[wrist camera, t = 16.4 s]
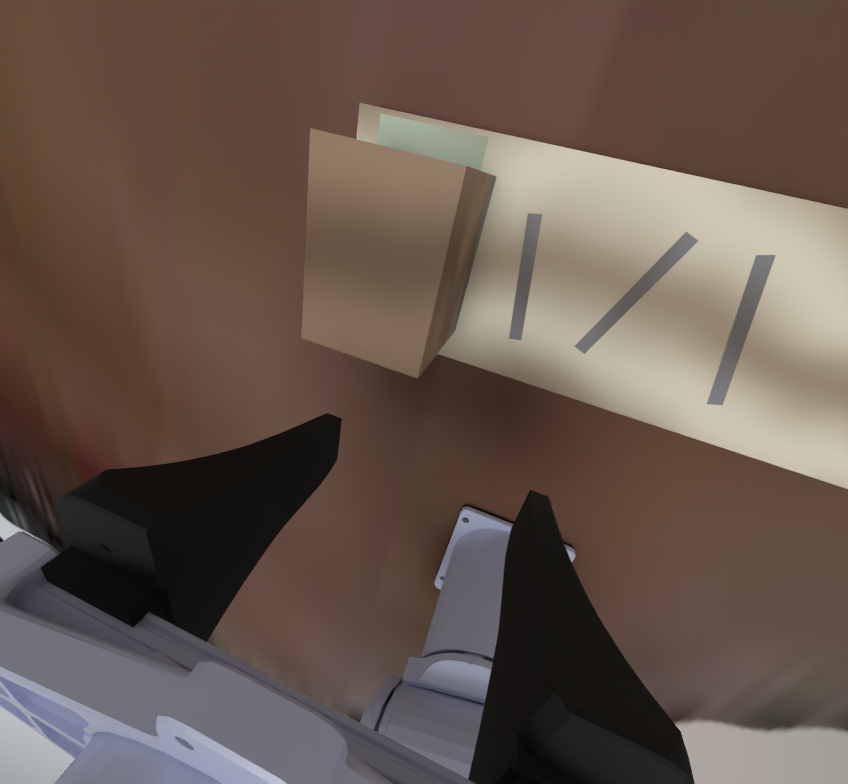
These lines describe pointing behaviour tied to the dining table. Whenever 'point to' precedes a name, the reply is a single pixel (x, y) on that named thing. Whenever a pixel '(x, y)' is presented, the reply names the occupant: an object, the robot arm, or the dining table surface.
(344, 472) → the dining table surface
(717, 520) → the dining table surface
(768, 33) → the dining table surface
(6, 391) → the dining table surface
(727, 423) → the birch board
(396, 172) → the eraser block
